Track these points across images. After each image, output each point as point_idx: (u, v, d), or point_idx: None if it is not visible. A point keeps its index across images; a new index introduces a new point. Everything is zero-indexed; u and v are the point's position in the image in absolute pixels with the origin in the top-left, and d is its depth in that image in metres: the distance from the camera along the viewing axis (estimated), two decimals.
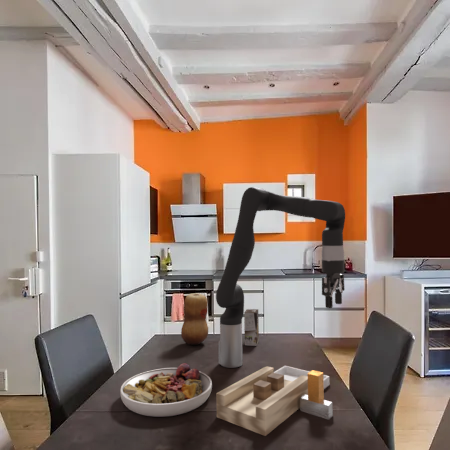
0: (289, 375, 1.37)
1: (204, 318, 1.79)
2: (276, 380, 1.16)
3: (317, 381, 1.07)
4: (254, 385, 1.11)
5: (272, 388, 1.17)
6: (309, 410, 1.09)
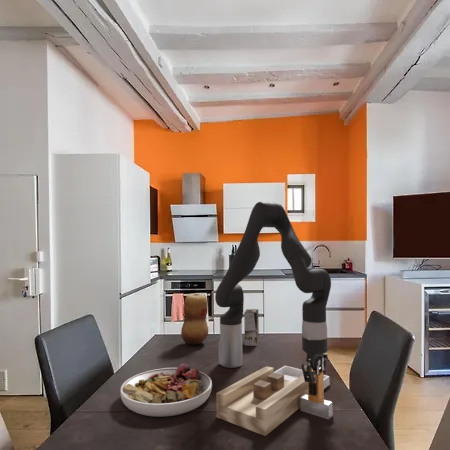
0: (289, 375, 1.37)
1: (204, 318, 1.79)
2: (276, 380, 1.16)
3: (317, 381, 1.07)
4: (254, 385, 1.11)
5: (272, 388, 1.17)
6: (309, 410, 1.09)
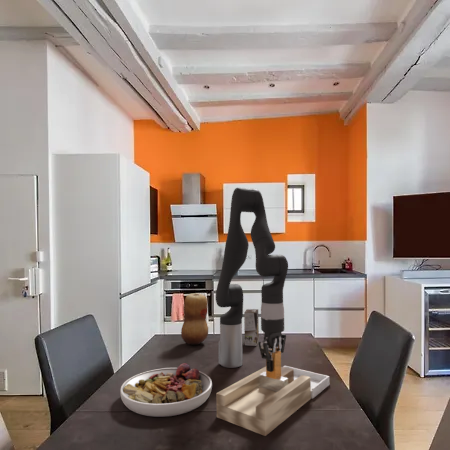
0: None
1: (204, 318, 1.79)
2: None
3: (274, 358, 1.15)
4: None
5: None
6: (267, 386, 1.17)
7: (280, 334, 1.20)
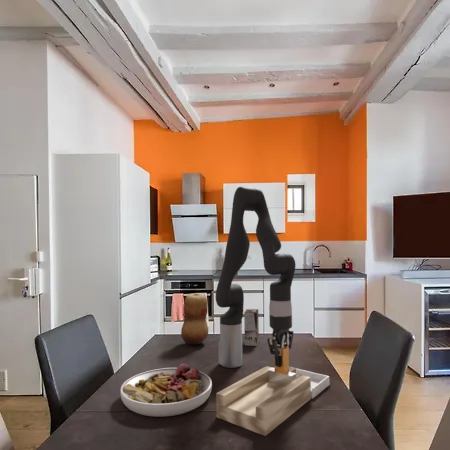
0: None
1: (204, 318, 1.79)
2: (299, 374, 1.28)
3: (282, 354, 1.19)
4: None
5: None
6: (275, 381, 1.21)
7: (288, 331, 1.24)
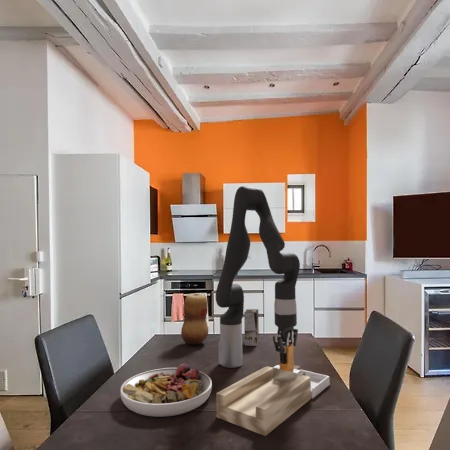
0: None
1: (204, 318, 1.79)
2: (303, 372, 1.30)
3: (287, 352, 1.22)
4: None
5: None
6: (280, 378, 1.24)
7: (292, 328, 1.26)
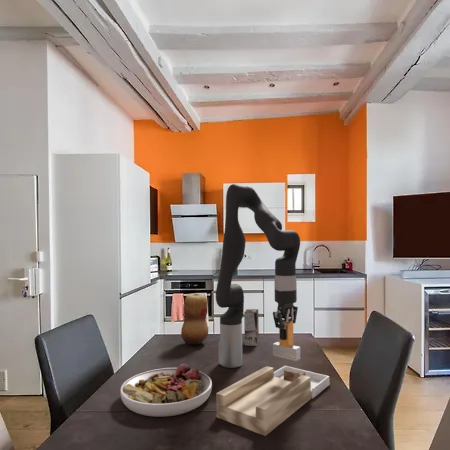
0: None
1: (204, 318, 1.79)
2: (303, 372, 1.30)
3: (287, 328, 1.22)
4: (285, 371, 1.26)
5: None
6: (280, 354, 1.24)
7: (292, 305, 1.26)
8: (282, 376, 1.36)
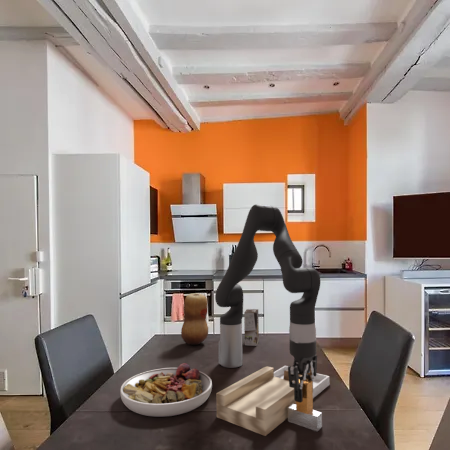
0: None
1: (204, 318, 1.79)
2: None
3: (305, 390, 1.01)
4: (285, 371, 1.26)
5: None
6: (297, 421, 1.03)
7: (311, 358, 1.05)
8: (282, 376, 1.36)
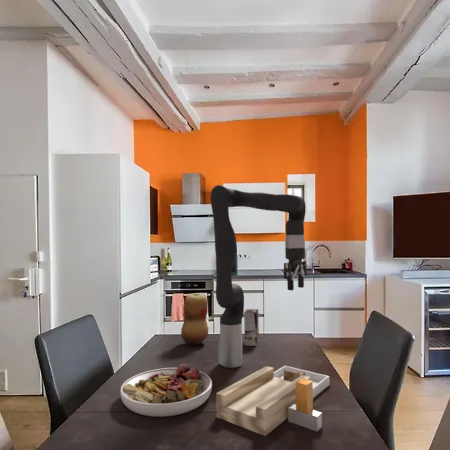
0: None
1: (204, 317, 1.79)
2: (303, 372, 1.30)
3: (305, 390, 1.01)
4: (285, 371, 1.26)
5: None
6: (297, 421, 1.03)
7: (301, 263, 1.42)
8: (282, 376, 1.36)
